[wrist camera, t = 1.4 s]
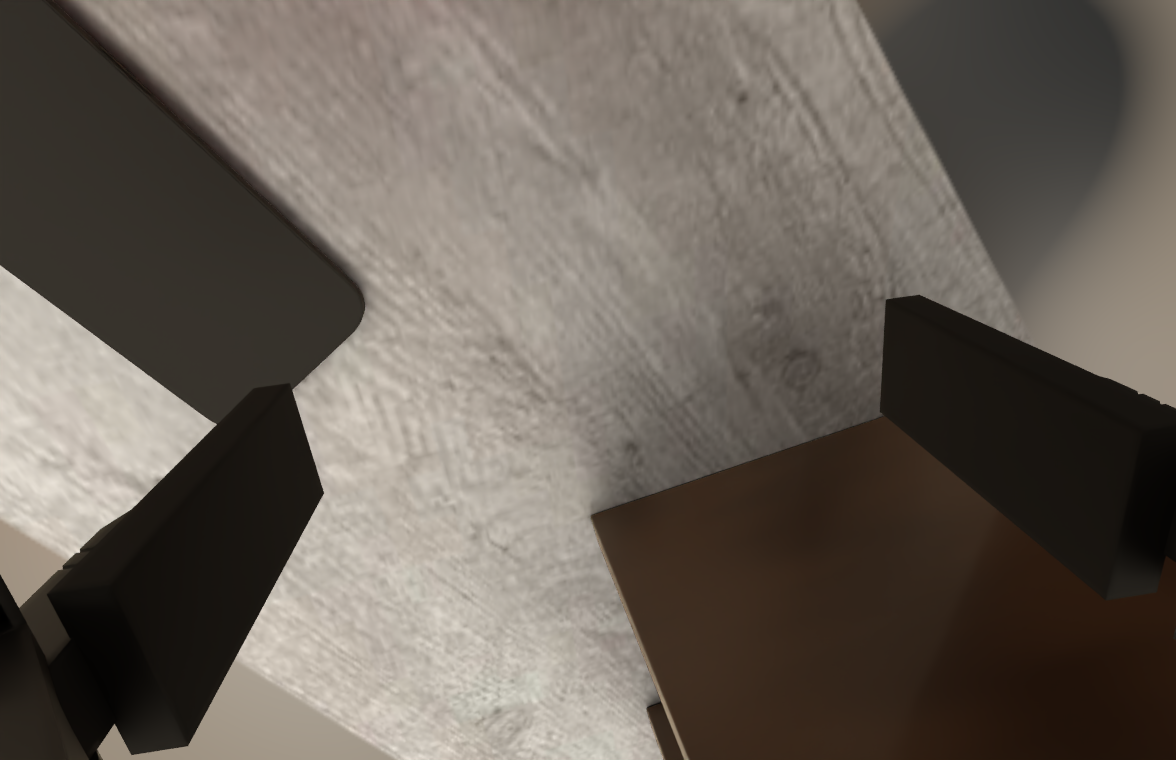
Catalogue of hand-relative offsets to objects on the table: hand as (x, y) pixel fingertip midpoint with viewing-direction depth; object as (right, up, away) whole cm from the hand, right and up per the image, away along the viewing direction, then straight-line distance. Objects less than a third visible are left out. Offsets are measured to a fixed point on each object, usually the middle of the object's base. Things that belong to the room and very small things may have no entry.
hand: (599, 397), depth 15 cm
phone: (-16, +6, +8) cm, 18 cm away
